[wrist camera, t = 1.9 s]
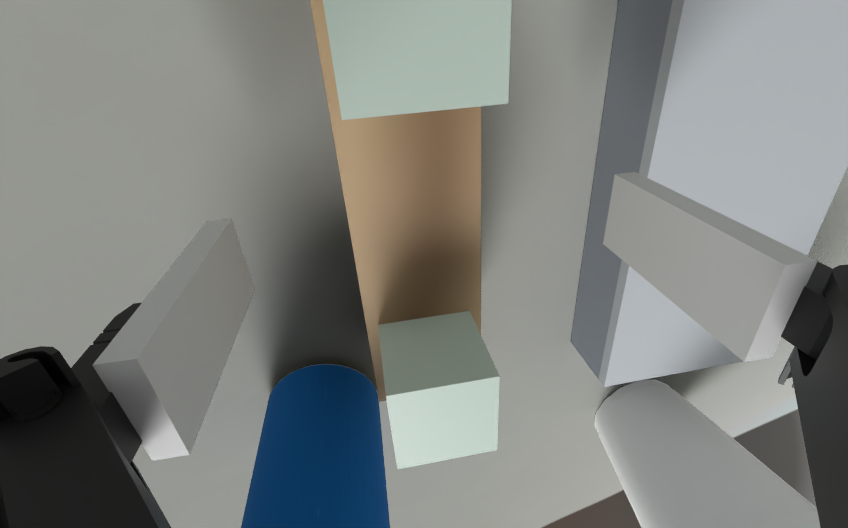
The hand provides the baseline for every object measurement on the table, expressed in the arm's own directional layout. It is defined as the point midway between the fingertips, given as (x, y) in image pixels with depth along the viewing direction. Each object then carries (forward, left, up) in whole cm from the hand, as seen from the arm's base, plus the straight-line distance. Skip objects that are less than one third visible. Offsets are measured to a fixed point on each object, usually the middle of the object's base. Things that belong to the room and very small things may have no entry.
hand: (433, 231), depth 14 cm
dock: (+15, -1, -6) cm, 16 cm away
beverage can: (-6, -13, -6) cm, 16 cm away
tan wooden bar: (0, 0, -6) cm, 6 cm away
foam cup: (+16, -20, -7) cm, 26 cm away
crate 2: (0, -7, -1) cm, 7 cm away
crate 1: (0, +6, -1) cm, 7 cm away
